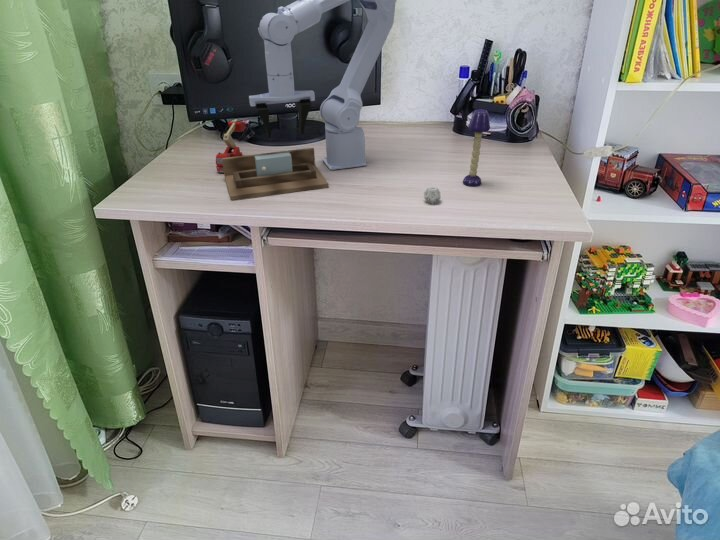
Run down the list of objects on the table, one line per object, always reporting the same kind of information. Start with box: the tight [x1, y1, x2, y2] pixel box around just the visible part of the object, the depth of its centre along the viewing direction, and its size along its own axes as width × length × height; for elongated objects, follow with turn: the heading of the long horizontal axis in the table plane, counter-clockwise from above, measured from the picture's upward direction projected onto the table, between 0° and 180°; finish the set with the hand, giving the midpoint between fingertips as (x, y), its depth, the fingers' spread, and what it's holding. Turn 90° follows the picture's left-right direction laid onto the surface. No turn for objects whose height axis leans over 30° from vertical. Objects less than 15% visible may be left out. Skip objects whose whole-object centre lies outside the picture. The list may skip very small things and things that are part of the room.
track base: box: [222, 147, 330, 201], centre depth 126 cm, size 22×14×5 cm, turn 108°
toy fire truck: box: [215, 121, 247, 174], centre depth 136 cm, size 3×14×10 cm, turn 168°
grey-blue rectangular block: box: [255, 152, 293, 176], centre depth 125 cm, size 8×3×6 cm, turn 108°
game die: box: [423, 186, 441, 205], centre depth 116 cm, size 4×4×3 cm
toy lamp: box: [462, 108, 491, 187], centre depth 121 cm, size 5×5×17 cm
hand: (285, 134), depth 127 cm, fingers open, 7 cm apart
